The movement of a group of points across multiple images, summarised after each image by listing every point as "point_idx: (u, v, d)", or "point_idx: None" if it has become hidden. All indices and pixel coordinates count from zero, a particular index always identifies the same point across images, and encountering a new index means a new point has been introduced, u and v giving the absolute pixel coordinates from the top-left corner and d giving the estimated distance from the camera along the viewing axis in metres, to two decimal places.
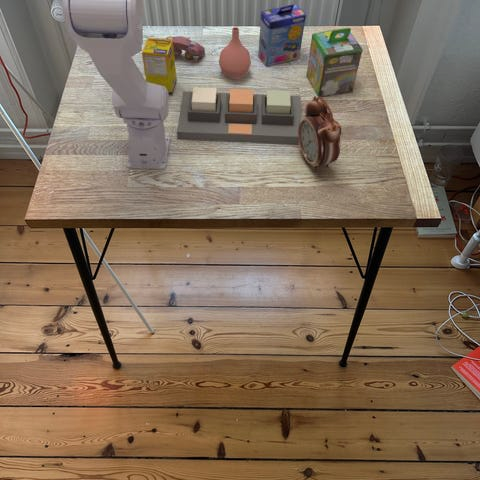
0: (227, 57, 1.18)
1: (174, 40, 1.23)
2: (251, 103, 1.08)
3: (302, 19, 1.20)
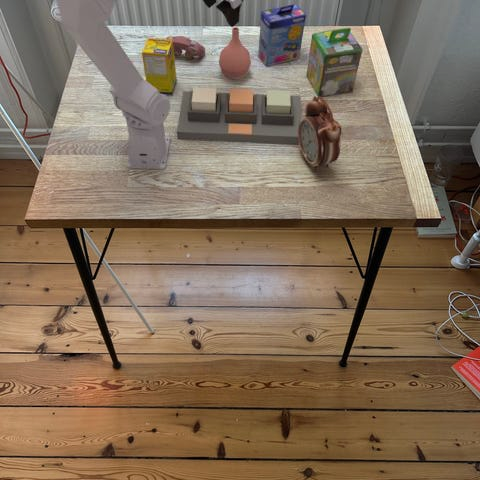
0: (227, 57, 1.18)
1: (174, 40, 1.23)
2: (251, 103, 1.08)
3: (302, 19, 1.20)
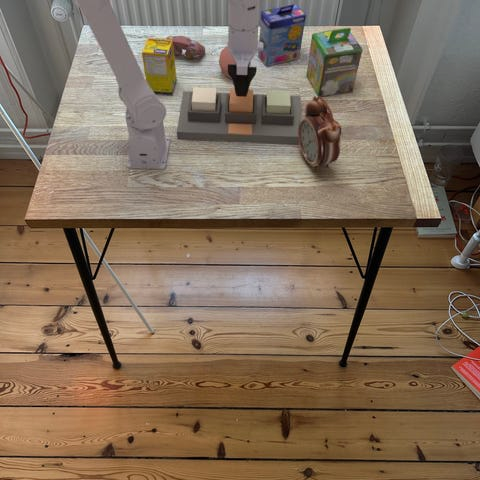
0: (227, 57, 1.18)
1: (175, 39, 1.24)
2: (251, 103, 1.08)
3: (302, 19, 1.20)
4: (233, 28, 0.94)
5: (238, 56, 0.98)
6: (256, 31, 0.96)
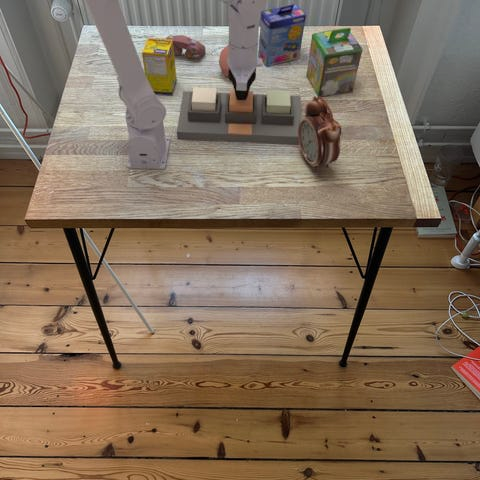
0: (227, 57, 1.18)
1: (175, 39, 1.24)
2: (251, 105, 1.08)
3: (302, 19, 1.20)
4: (233, 45, 0.97)
5: (238, 72, 1.00)
6: (255, 48, 0.98)
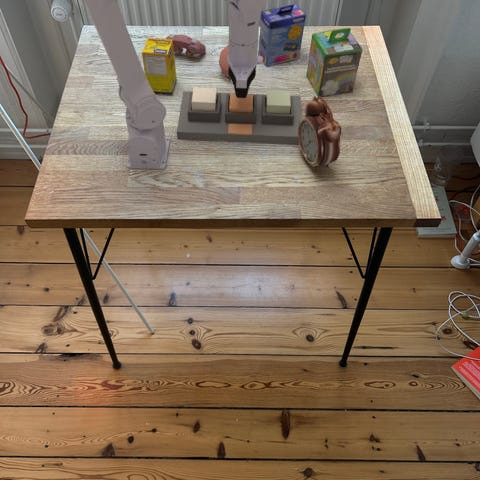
0: None
1: (175, 38, 1.24)
2: (251, 108, 1.09)
3: (302, 19, 1.20)
4: (233, 42, 0.97)
5: (238, 69, 1.00)
6: (256, 46, 0.98)
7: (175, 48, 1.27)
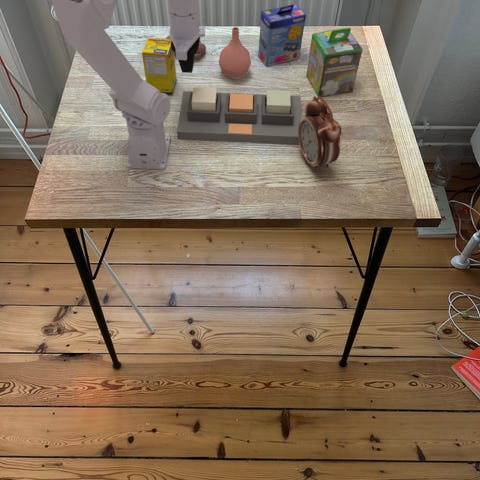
0: (227, 57, 1.18)
1: None
2: (251, 108, 1.09)
3: (302, 19, 1.20)
4: (172, 13, 0.95)
5: (179, 42, 0.99)
6: (196, 17, 0.97)
7: None
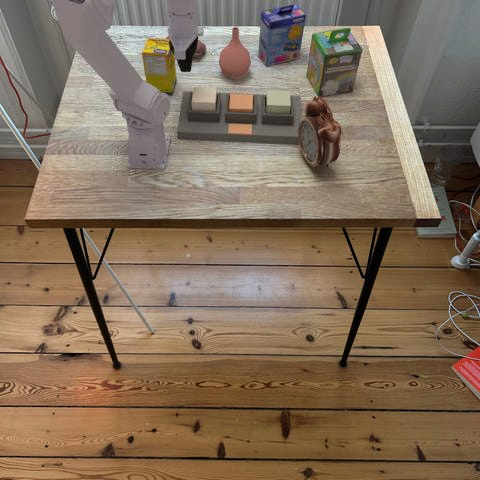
0: (227, 57, 1.18)
1: None
2: (251, 108, 1.09)
3: (302, 19, 1.20)
4: (170, 13, 0.95)
5: (177, 41, 0.99)
6: (194, 16, 0.97)
7: None
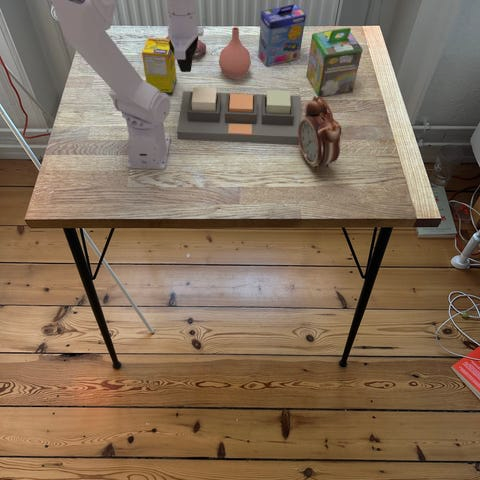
0: (227, 57, 1.18)
1: None
2: (251, 108, 1.09)
3: (302, 19, 1.20)
4: (170, 13, 0.95)
5: (177, 41, 0.99)
6: (194, 16, 0.97)
7: None
